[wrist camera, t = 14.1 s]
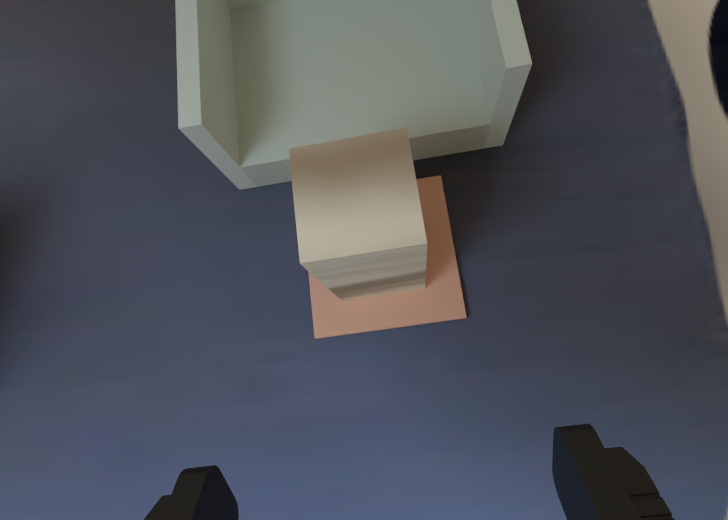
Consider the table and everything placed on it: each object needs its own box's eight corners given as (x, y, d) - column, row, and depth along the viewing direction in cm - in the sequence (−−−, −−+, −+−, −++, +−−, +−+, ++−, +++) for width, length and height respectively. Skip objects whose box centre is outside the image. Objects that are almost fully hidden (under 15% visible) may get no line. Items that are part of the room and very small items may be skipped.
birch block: (425, 289, 27) (427, 243, 17) (342, 301, 28) (299, 263, 18) (412, 210, 28) (407, 127, 19) (333, 223, 29) (288, 148, 19)
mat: (465, 318, 27) (466, 317, 26) (316, 338, 28) (314, 338, 27) (440, 177, 29) (441, 175, 29) (302, 200, 30) (301, 198, 29)
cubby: (502, 145, 29) (573, -51, 16) (239, 189, 31) (96, 45, 17) (466, -17, 32) (499, -296, 19) (230, 31, 34) (103, -196, 20)
